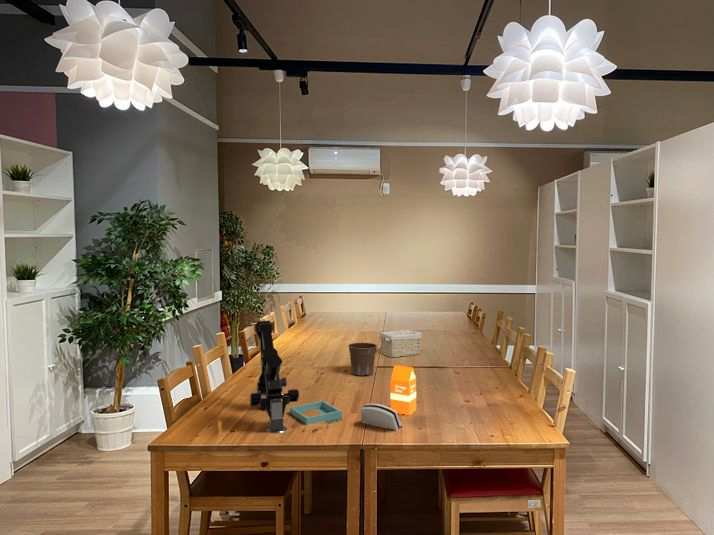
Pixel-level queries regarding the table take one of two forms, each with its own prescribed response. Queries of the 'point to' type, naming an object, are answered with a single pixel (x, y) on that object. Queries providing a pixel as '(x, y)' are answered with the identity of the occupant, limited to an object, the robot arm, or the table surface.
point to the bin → (325, 409)
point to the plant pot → (362, 358)
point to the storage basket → (400, 343)
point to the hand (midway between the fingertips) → (276, 417)
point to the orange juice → (403, 390)
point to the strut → (276, 415)
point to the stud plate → (277, 431)
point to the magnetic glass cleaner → (380, 416)
